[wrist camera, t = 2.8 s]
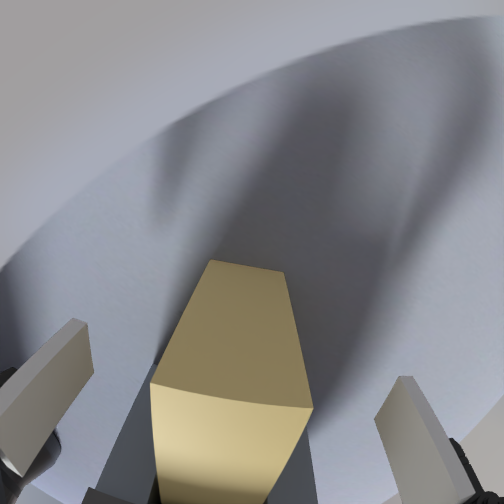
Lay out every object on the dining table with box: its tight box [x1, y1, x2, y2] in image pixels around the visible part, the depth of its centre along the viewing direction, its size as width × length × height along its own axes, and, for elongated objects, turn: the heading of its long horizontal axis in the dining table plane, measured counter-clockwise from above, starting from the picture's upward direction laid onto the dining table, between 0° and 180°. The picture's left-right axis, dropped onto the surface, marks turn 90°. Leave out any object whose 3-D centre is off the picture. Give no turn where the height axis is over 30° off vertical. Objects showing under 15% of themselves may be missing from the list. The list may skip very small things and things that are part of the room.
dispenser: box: [82, 364, 318, 504], centre depth 13 cm, size 10×13×14 cm
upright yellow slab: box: [150, 259, 314, 504], centre depth 13 cm, size 4×14×10 cm, turn 170°
